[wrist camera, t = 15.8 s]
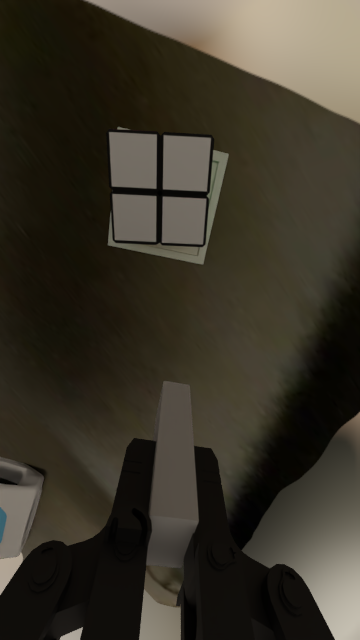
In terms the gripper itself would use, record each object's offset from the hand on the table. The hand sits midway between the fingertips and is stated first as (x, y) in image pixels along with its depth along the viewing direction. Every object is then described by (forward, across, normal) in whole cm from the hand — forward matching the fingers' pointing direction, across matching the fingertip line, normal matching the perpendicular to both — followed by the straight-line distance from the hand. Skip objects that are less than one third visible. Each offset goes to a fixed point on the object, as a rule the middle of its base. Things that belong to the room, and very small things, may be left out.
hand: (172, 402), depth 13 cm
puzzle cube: (+25, -4, +12) cm, 28 cm away
